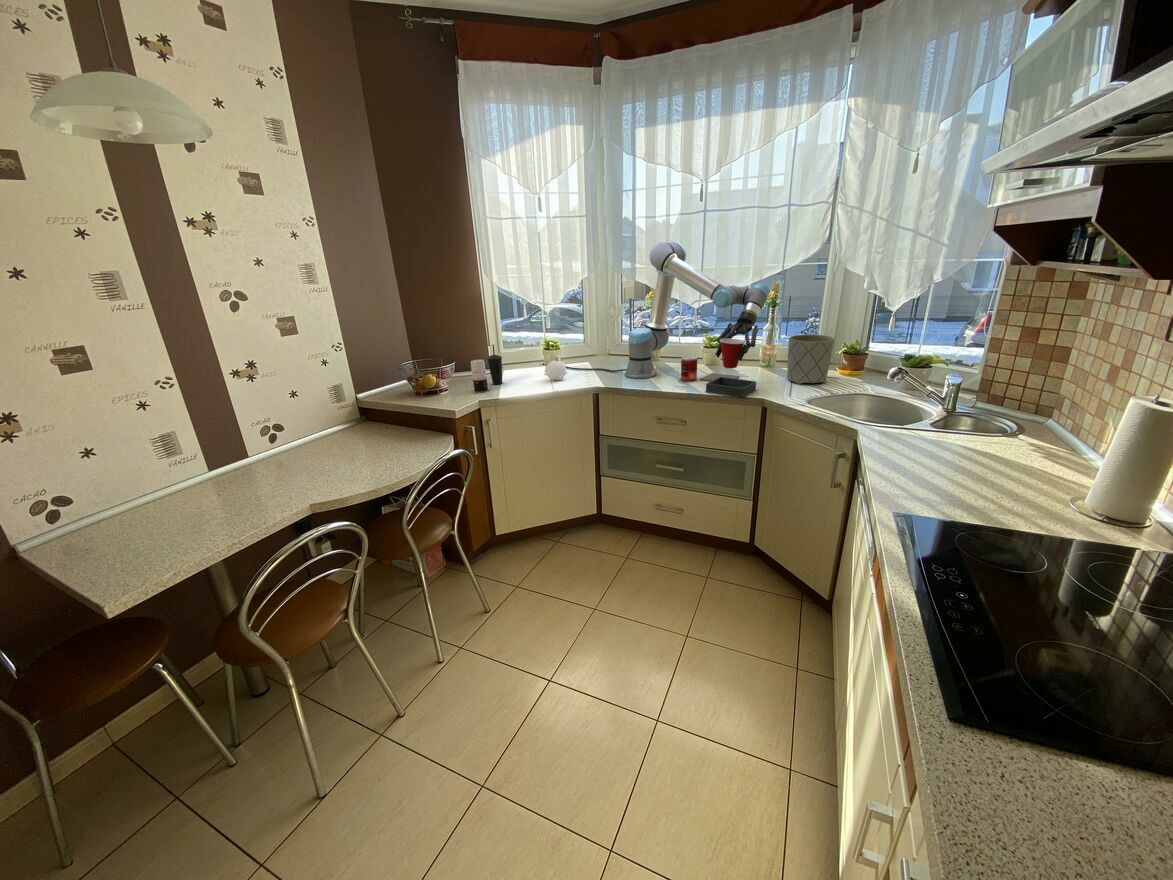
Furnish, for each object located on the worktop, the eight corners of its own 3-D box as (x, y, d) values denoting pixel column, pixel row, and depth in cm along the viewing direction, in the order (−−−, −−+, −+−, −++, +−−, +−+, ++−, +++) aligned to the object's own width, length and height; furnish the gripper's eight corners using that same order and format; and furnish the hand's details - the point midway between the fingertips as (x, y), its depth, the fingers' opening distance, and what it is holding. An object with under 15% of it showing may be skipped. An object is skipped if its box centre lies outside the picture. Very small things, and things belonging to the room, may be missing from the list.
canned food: (698, 378, 238) (699, 356, 234) (694, 382, 231) (695, 359, 227) (683, 377, 241) (683, 355, 237) (679, 381, 234) (679, 358, 230)
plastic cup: (744, 369, 205) (746, 342, 201) (718, 369, 208) (720, 342, 203) (742, 364, 215) (744, 337, 211) (717, 364, 217) (719, 337, 213)
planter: (817, 374, 232) (823, 333, 225) (836, 385, 215) (842, 340, 207) (778, 376, 233) (782, 335, 226) (793, 386, 215) (798, 342, 208)
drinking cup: (507, 381, 248) (503, 343, 241) (500, 385, 241) (495, 346, 234) (494, 381, 251) (490, 343, 243) (487, 385, 244) (482, 345, 237)
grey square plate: (699, 379, 234) (699, 378, 234) (712, 373, 244) (712, 372, 244) (726, 383, 226) (726, 382, 225) (739, 377, 235) (739, 376, 235)
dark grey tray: (705, 392, 214) (706, 383, 212) (719, 385, 224) (720, 376, 222) (742, 397, 203) (743, 388, 202) (755, 390, 213) (756, 381, 212)
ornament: (570, 379, 248) (569, 356, 243) (556, 383, 241) (554, 360, 236) (557, 376, 254) (555, 354, 250) (542, 380, 247) (541, 357, 243)
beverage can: (482, 388, 238) (478, 358, 233) (490, 390, 234) (487, 360, 229) (471, 391, 234) (467, 361, 228) (480, 393, 230) (476, 362, 224)
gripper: (775, 323, 207) (754, 365, 203) (728, 319, 222) (708, 359, 218) (771, 312, 201) (749, 355, 197) (723, 309, 217) (702, 349, 212)
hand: (728, 357), depth 208 cm, fingers closed on plastic cup, 10 cm apart
